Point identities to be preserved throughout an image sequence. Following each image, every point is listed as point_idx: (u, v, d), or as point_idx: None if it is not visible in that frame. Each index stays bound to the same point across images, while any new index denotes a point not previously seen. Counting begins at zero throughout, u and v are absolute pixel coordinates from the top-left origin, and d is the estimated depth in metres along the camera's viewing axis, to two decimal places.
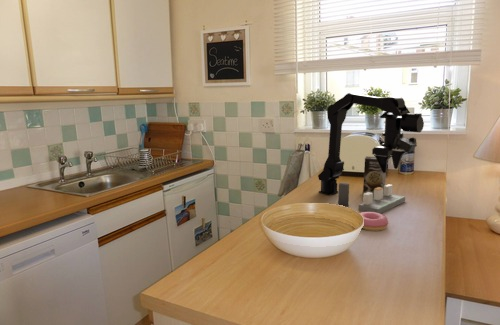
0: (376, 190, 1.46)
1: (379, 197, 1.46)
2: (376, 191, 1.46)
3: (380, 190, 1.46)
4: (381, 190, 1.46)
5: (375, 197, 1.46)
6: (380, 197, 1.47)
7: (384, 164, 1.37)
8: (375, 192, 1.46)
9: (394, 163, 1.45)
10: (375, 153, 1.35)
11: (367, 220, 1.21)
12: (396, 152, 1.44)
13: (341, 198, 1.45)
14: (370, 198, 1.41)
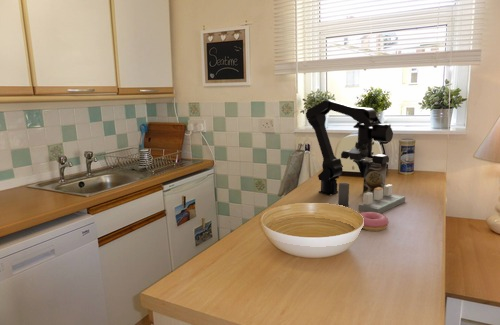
0: (376, 190, 1.46)
1: (379, 197, 1.46)
2: (376, 191, 1.46)
3: (380, 190, 1.46)
4: (381, 190, 1.46)
5: (375, 197, 1.46)
6: (380, 197, 1.47)
7: None
8: (375, 192, 1.46)
9: None
10: None
11: (367, 220, 1.21)
12: None
13: (341, 198, 1.45)
14: (370, 198, 1.41)
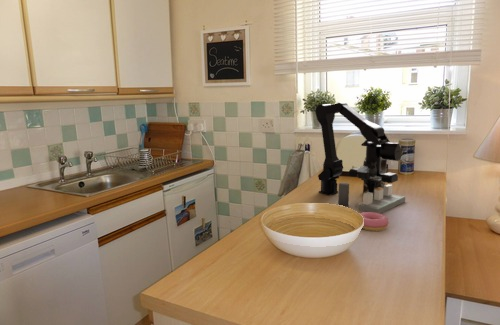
0: (376, 190, 1.46)
1: (379, 197, 1.46)
2: (376, 191, 1.46)
3: (380, 190, 1.46)
4: (381, 190, 1.46)
5: (375, 197, 1.46)
6: (380, 197, 1.47)
7: None
8: (375, 192, 1.46)
9: None
10: None
11: (367, 220, 1.21)
12: None
13: (341, 198, 1.45)
14: (370, 198, 1.41)
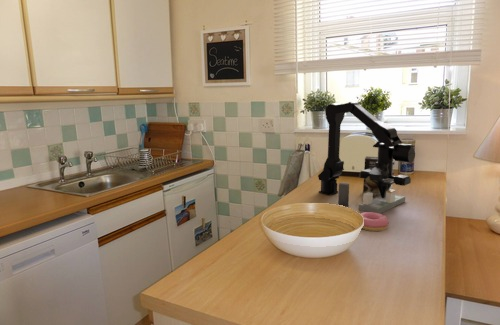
0: (388, 193, 1.42)
1: (391, 200, 1.42)
2: (388, 194, 1.42)
3: (392, 193, 1.42)
4: (393, 193, 1.43)
5: (387, 200, 1.43)
6: (392, 199, 1.43)
7: None
8: (387, 195, 1.42)
9: None
10: None
11: (368, 220, 1.21)
12: None
13: (341, 198, 1.45)
14: (370, 198, 1.41)
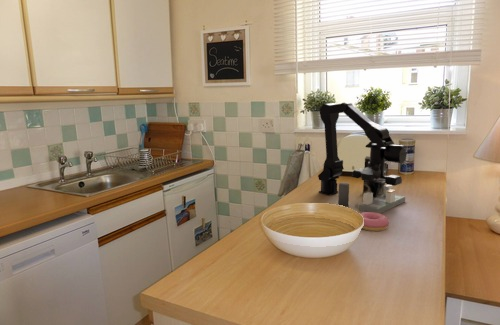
0: (388, 193, 1.42)
1: (391, 200, 1.43)
2: (388, 194, 1.42)
3: (392, 193, 1.42)
4: (393, 193, 1.43)
5: (387, 200, 1.43)
6: (392, 199, 1.43)
7: None
8: (387, 195, 1.42)
9: None
10: None
11: (368, 220, 1.21)
12: None
13: (341, 198, 1.45)
14: (370, 198, 1.41)
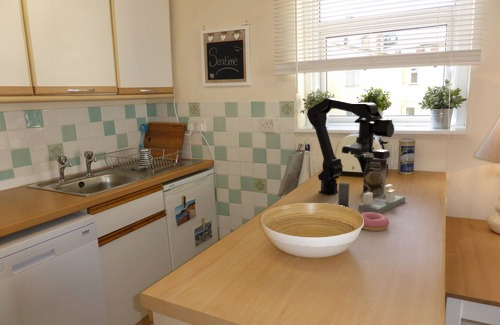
0: (388, 193, 1.42)
1: (391, 200, 1.43)
2: (388, 194, 1.42)
3: (392, 193, 1.42)
4: (393, 193, 1.43)
5: (387, 200, 1.43)
6: (392, 199, 1.43)
7: None
8: (387, 195, 1.42)
9: None
10: None
11: (368, 220, 1.21)
12: None
13: (341, 198, 1.45)
14: (370, 198, 1.41)
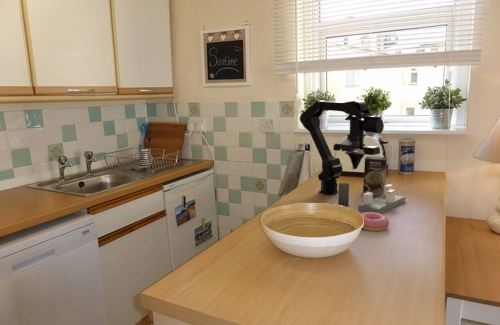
0: (388, 193, 1.42)
1: (391, 200, 1.43)
2: (388, 194, 1.42)
3: (392, 193, 1.42)
4: (393, 193, 1.43)
5: (387, 200, 1.43)
6: (392, 199, 1.43)
7: None
8: (387, 195, 1.42)
9: None
10: None
11: (368, 220, 1.21)
12: None
13: (341, 198, 1.45)
14: (370, 198, 1.41)
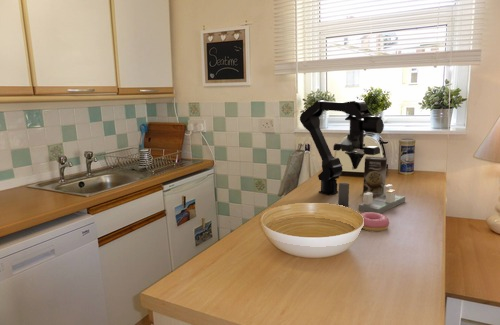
0: (388, 193, 1.42)
1: (391, 200, 1.43)
2: (388, 194, 1.42)
3: (392, 193, 1.42)
4: (393, 193, 1.43)
5: (387, 200, 1.43)
6: (392, 199, 1.43)
7: None
8: (387, 195, 1.42)
9: None
10: None
11: (368, 220, 1.21)
12: None
13: (341, 198, 1.45)
14: (370, 198, 1.41)
